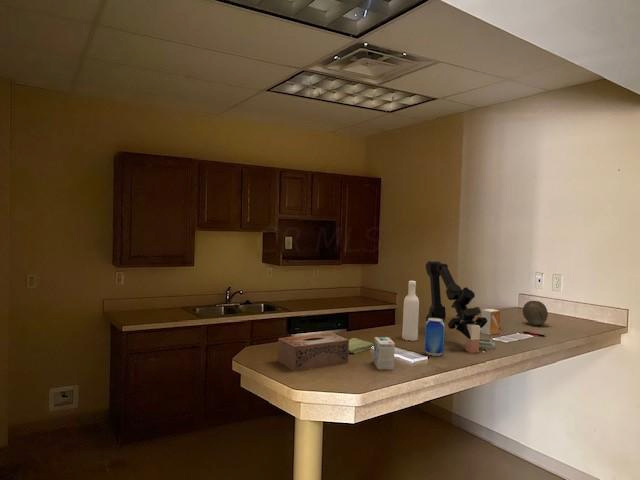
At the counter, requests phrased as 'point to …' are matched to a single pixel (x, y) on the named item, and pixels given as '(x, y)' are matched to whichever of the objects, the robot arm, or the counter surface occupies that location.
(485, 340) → the baseplate
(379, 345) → the light bulb box
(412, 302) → the bottle
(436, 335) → the beer can
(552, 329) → the counter surface
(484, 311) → the small box
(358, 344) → the washcloth
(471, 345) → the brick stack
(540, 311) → the cantaloupe
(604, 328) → the counter surface
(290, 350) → the tissue box cover
